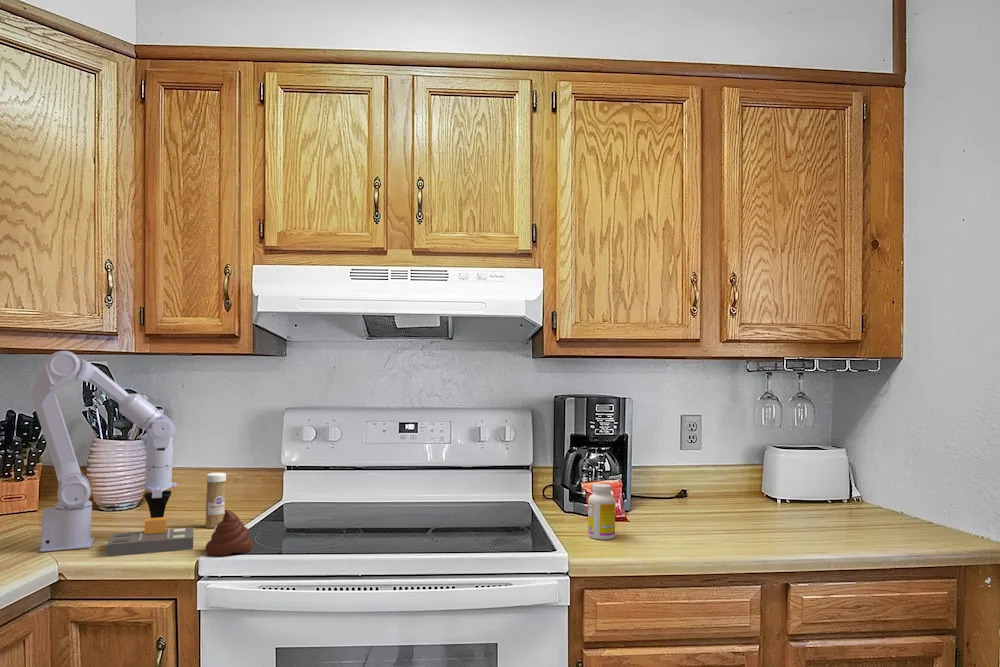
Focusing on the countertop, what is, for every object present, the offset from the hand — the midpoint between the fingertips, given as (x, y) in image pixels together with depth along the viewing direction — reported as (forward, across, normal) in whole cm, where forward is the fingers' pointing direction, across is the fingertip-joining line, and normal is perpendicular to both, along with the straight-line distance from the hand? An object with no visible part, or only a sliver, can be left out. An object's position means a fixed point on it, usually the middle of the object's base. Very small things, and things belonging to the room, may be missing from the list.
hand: (157, 522), depth 164 cm
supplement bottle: (+3, -38, -101) cm, 108 cm away
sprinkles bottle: (+3, +6, -13) cm, 15 cm away
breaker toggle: (+1, -6, 0) cm, 6 cm away
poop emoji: (+3, -19, -15) cm, 25 cm away
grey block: (+3, -9, 0) cm, 10 cm away
